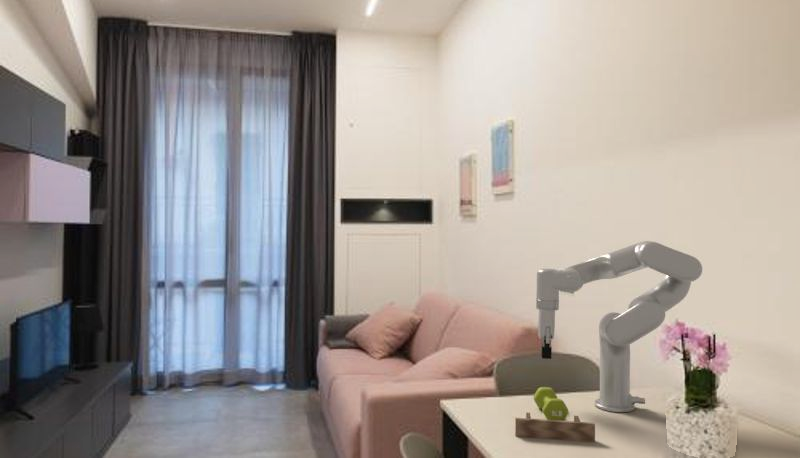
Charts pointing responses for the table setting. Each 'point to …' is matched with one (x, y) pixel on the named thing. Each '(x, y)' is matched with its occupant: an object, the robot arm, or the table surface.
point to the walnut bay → (555, 429)
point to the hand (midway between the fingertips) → (546, 357)
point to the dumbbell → (550, 404)
